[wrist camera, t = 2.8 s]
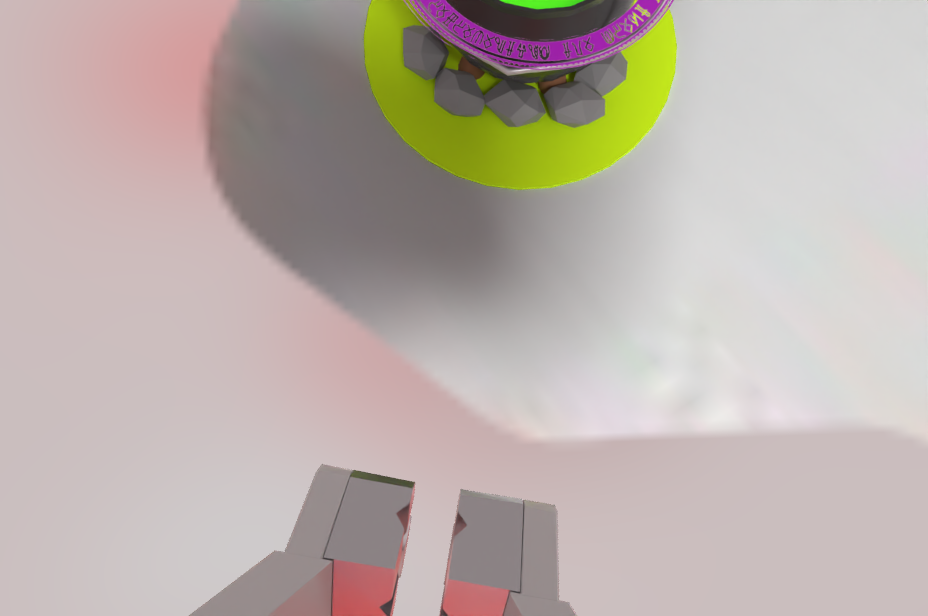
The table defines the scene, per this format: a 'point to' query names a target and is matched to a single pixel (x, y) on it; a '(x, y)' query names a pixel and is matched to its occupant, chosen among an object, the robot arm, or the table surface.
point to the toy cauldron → (521, 82)
